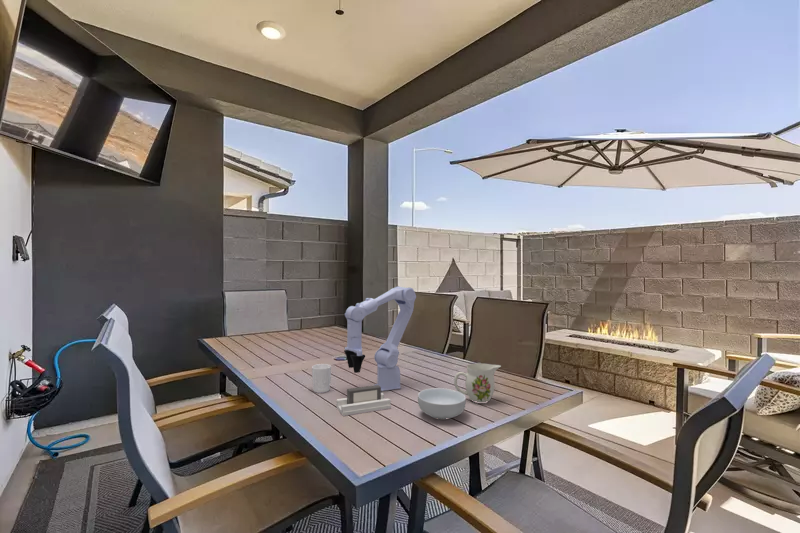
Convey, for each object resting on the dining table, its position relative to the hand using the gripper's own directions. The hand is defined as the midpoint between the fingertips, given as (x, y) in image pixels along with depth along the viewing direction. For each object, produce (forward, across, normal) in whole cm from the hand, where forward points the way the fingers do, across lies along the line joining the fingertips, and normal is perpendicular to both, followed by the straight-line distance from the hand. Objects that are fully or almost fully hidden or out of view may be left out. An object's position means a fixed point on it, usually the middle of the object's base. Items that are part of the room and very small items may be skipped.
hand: (354, 369), depth 153 cm
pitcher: (+10, +25, +42) cm, 50 cm away
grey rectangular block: (+9, +15, -1) cm, 17 cm away
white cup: (+10, -10, -11) cm, 18 cm away
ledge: (+10, +15, -1) cm, 18 cm away
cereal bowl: (+10, +32, +22) cm, 40 cm away
